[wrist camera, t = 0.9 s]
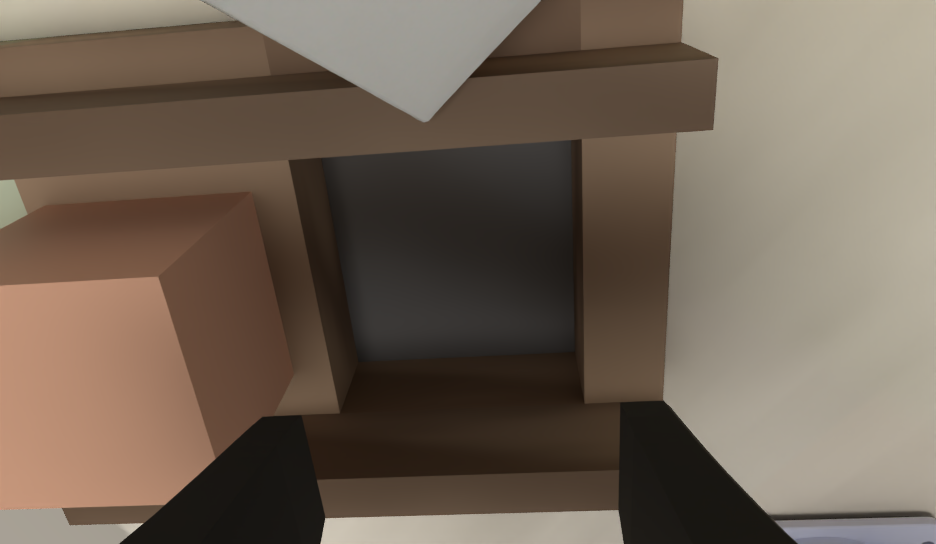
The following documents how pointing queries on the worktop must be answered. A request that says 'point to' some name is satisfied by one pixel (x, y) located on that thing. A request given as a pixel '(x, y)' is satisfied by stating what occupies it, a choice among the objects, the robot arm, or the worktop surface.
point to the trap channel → (409, 235)
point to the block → (132, 347)
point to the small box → (389, 41)
